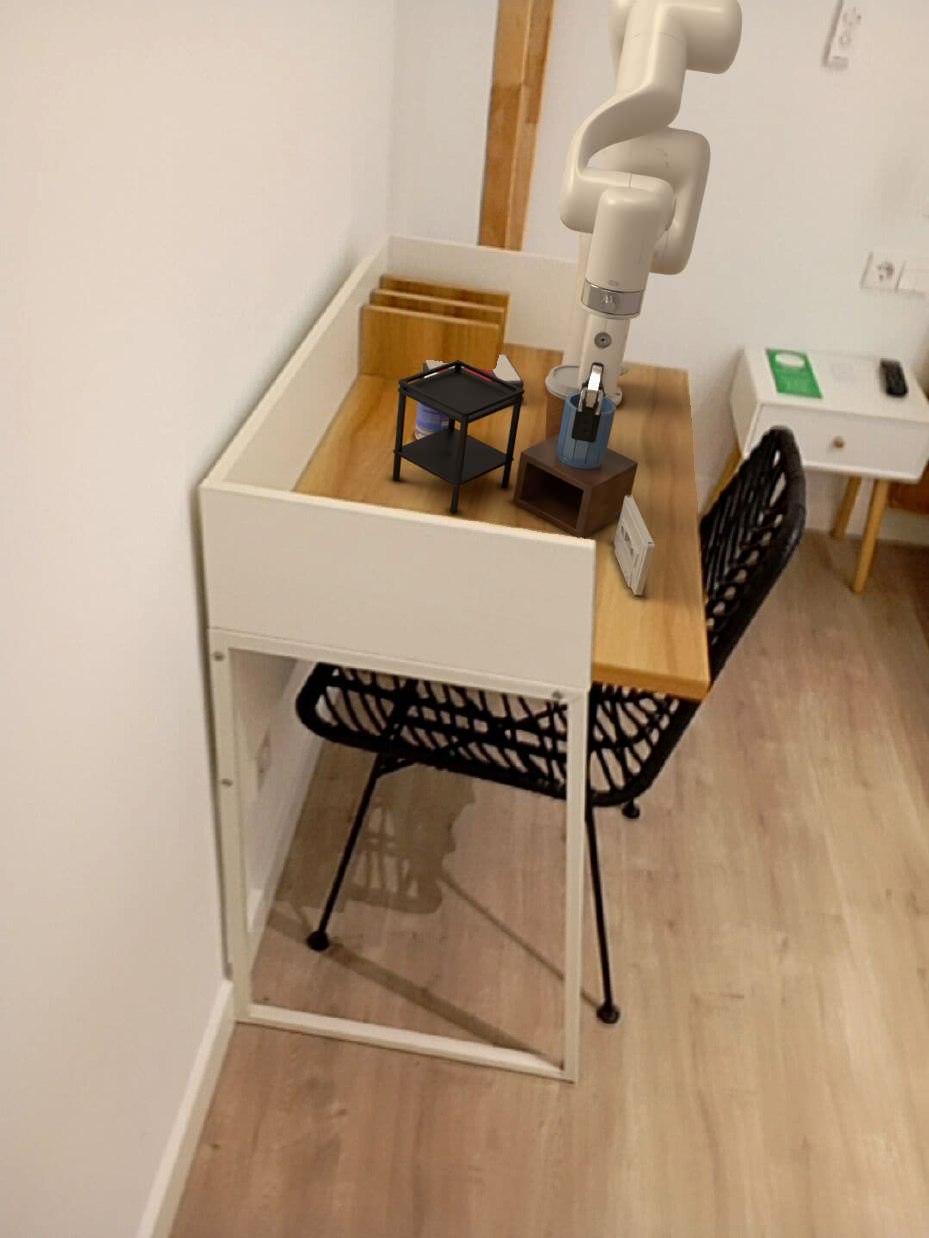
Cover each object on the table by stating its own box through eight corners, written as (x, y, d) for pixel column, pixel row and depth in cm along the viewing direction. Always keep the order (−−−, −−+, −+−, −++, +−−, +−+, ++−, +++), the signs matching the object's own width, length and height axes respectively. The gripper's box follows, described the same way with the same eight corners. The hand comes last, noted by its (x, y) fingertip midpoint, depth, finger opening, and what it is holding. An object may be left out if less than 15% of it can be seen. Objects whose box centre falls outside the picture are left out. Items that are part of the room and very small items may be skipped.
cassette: (609, 543, 136) (621, 494, 131) (623, 543, 136) (635, 494, 132) (630, 596, 127) (644, 545, 122) (645, 597, 127) (659, 545, 122)
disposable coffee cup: (554, 429, 161) (567, 357, 154) (606, 450, 158) (622, 378, 150) (522, 448, 155) (534, 375, 148) (575, 471, 151) (590, 396, 144)
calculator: (421, 354, 170) (507, 351, 173) (420, 378, 172) (505, 374, 176) (434, 383, 161) (525, 378, 165) (433, 407, 164) (522, 403, 167)
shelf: (559, 478, 149) (568, 429, 144) (626, 512, 143) (638, 462, 138) (512, 502, 142) (520, 451, 137) (581, 539, 136) (592, 487, 131)
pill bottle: (445, 449, 152) (452, 389, 146) (410, 442, 153) (416, 382, 147) (453, 433, 156) (460, 374, 150) (419, 426, 157) (424, 367, 151)
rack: (447, 454, 151) (458, 359, 142) (509, 487, 145) (524, 390, 136) (390, 479, 143) (398, 380, 134) (453, 515, 137) (466, 414, 128)
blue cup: (575, 440, 141) (585, 387, 136) (613, 459, 138) (625, 405, 133) (546, 454, 137) (556, 400, 132) (585, 474, 134) (596, 419, 129)
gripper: (638, 325, 117) (609, 458, 127) (646, 281, 131) (619, 404, 141) (574, 314, 118) (550, 447, 128) (589, 271, 131) (566, 394, 141)
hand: (586, 424), depth 134 cm, fingers open, 9 cm apart
